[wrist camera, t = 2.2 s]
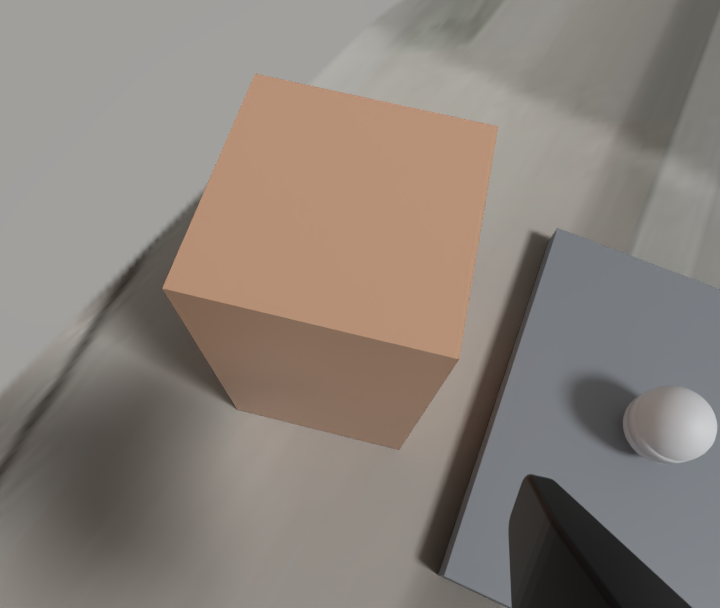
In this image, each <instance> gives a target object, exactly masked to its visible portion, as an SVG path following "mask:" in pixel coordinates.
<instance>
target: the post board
mask: <svg viewBox="0 0 720 608" xmlns="http://www.w3.org/2000/svg"><path fill="white" fill-rule="evenodd" d="M528 474H533V475H538V476H542V477H547V478H550V479H553V480H554V481H556V482H557V483H558V484H559V485H560V486H561V487H562V488H563V489H564V490H565V491H566V492H567V493H569V494H570V495H571V496H572V497H573V498H574V499H575V500H576V501H577V502H578V503H579V504H581V505H582V506H583V507H584V508H585V509H586V510H587V511H588V512H589V513H590V514H591V515H592V516H594V517H595V518H596V519H597V520H598V521H599V522H600V523H601V524H602V525H603V526H604V527H606V528H607V529H608V530H609V531H610V532H611V533H612V534H613V535H614V536H615V537H616V538H617V539H619V540H620V541H621V542H622V543H623V544H624V545H625V546H626V547H627V548H628V549H629V550H631V551H632V552H633V553H634V554H635V555H636V556H637V557H638V558H639V559H640V560H641V561H642V562H644V563H645V564H646V565H647V566H648V567H649V568H650V569H651V570H652V571H653V572H654V573H656V574H657V575H658V576H659V577H660V578H661V579H662V580H663V581H664V582H665V583H666V584H667V585H669V586H670V587H671V588H672V589H673V590H674V591H675V592H676V593H677V594H678V595H679V596H681V597H682V598H683V599H684V600H685V601H686V602H687V603H688V604H689V605H690V606H691V607H692V608H720V289H717V288H715V287H712V286H709V285H707V284H704V283H701V282H699V281H696V280H693V279H691V278H688V277H685V276H683V275H680V274H677V273H675V272H672V271H669V270H667V269H664V268H662V267H659V266H656V265H654V264H651V263H648V262H646V261H643V260H640V259H638V258H635V257H632V256H630V255H627V254H624V253H622V252H619V251H617V250H614V249H611V248H609V247H606V246H603V245H601V244H598V243H595V242H593V241H590V240H587V239H585V238H582V237H579V236H577V235H574V234H571V233H569V232H566V231H564V230H561V229H558V228H557V230H556V231H555V233H554V234H553V235H552V237H551V238H550V240H549V242H548V245H547V248H546V251H545V254H544V257H543V260H542V263H541V266H540V269H539V272H538V275H537V278H536V281H535V284H534V287H533V290H532V293H531V296H530V299H529V302H528V305H527V308H526V311H525V314H524V317H523V320H522V323H521V326H520V329H519V332H518V335H517V338H516V341H515V344H514V348H513V351H512V354H511V357H510V360H509V363H508V366H507V369H506V372H505V375H504V378H503V381H502V384H501V387H500V390H499V393H498V396H497V399H496V402H495V405H494V408H493V411H492V414H491V417H490V420H489V423H488V426H487V429H486V432H485V435H484V438H483V441H482V444H481V447H480V450H479V453H478V456H477V459H476V462H475V465H474V468H473V471H472V475H471V478H470V481H469V484H468V487H467V490H466V493H465V496H464V499H463V502H462V505H461V508H460V511H459V514H458V517H457V520H456V523H455V526H454V529H453V532H452V535H451V538H450V541H449V544H448V547H447V550H446V553H445V556H444V559H443V562H442V565H441V568H440V571H439V574H438V575H439V576H441V577H443V578H446V579H448V580H450V581H452V582H454V583H456V584H458V585H461V586H463V587H465V588H467V589H469V590H471V591H473V592H475V593H478V594H480V595H482V596H484V597H486V598H488V599H490V600H493V601H495V602H497V603H499V604H501V605H503V606H505V607H507V608H512V605H511V582H510V559H509V537H508V526H509V519H510V515H511V512H512V509H513V506H514V503H515V500H516V497H517V495H518V492H519V489H520V486H521V483H522V481H523V479H524V477H525V476H526V475H528Z"/></svg>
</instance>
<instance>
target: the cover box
mask: <svg viewBox="0 0 720 608" xmlns="http://www.w3.org/2000/svg"><path fill="white" fill-rule="evenodd" d="M497 131H498V126H494V125H489V124H484V123H480V122H475V121H471V120H466V119H461V118H457V117H452V116H448V115H443V114H438V113H434V112H429V111H425V110H420V109H415V108H411V107H406V106H402V105H397V104H392V103H388V102H383V101H378V100H374V99H369V98H365V97H360V96H355V95H351V94H346V93H342V92H337V91H332V90H328V89H323V88H319V87H314V86H309V85H305V84H300V83H296V82H291V81H286V80H282V79H277V78H273V77H268V76H263V75H258V74H255V75H254V78H253V80H252V82H251V85H250V87H249V89H248V91H247V94H246V96H245V98H244V101H243V103H242V105H241V108H240V110H239V112H238V115H237V117H236V119H235V121H234V124H233V126H232V128H231V131H230V133H229V135H228V138H227V140H226V142H225V145H224V147H223V149H222V151H221V154H220V156H219V159H218V161H217V163H216V165H215V168H214V170H213V172H212V175H211V177H210V179H209V181H208V184H207V186H206V188H205V191H204V193H203V195H202V198H201V200H200V202H199V205H198V207H197V209H196V211H195V214H194V216H193V218H192V221H191V223H190V225H189V228H188V230H187V232H186V235H185V237H184V239H183V241H182V244H181V246H180V248H179V251H178V253H177V255H176V258H175V260H174V262H173V265H172V267H171V269H170V271H169V274H168V276H167V278H166V281H165V283H164V285H163V288H162V289H163V290H164V292H165V294H166V295H167V297H168V299H169V300H170V302H171V303H172V305H173V307H174V308H175V310H176V311H177V313H178V315H179V316H180V318H181V320H182V321H183V323H184V324H185V326H186V328H187V329H188V331H189V332H190V334H191V336H192V337H193V339H194V340H195V342H196V344H197V345H198V347H199V349H200V350H201V352H202V353H203V355H204V357H205V358H206V360H207V361H208V363H209V365H210V366H211V368H212V369H213V371H214V373H215V374H216V376H217V378H218V379H219V381H220V382H221V384H222V386H223V387H224V389H225V390H226V392H227V394H228V395H229V397H230V398H231V400H232V402H233V403H234V405H235V407H236V408H237V410H241V411H245V412H249V413H253V414H257V415H261V416H265V417H269V418H273V419H277V420H281V421H285V422H289V423H293V424H297V425H301V426H305V427H309V428H313V429H317V430H321V431H325V432H329V433H333V434H337V435H341V436H345V437H349V438H353V439H357V440H361V441H365V442H369V443H373V444H377V445H381V446H385V447H389V448H394V449H398V450H399V449H400V448H401V446H402V445H403V443H404V442H405V440H406V439H407V437H408V436H409V434H410V433H411V431H412V430H413V428H414V427H415V425H416V424H417V422H418V421H419V419H420V418H421V416H422V415H423V413H424V411H425V410H426V408H427V407H428V405H429V404H430V402H431V401H432V399H433V398H434V396H435V395H436V393H437V392H438V390H439V389H440V387H441V386H442V384H443V383H444V381H445V380H446V378H447V377H448V375H449V374H450V372H451V371H452V369H453V368H454V366H455V365H456V363H457V362H458V360H459V356H460V350H461V344H462V338H463V333H464V327H465V321H466V315H467V309H468V303H469V297H470V291H471V285H472V279H473V273H474V267H475V261H476V255H477V249H478V243H479V238H480V232H481V226H482V220H483V214H484V208H485V202H486V196H487V190H488V184H489V178H490V172H491V166H492V160H493V154H494V148H495V143H496V137H497Z"/></svg>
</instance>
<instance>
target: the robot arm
mask: <svg viewBox="0 0 720 608" xmlns="http://www.w3.org/2000/svg"><path fill="white" fill-rule="evenodd" d="M508 537H509V559H510V582H511V605H512V608H692V607H691V606H690V605H689V604H688V603H687V602H686V601H685V600H684V599H683V598H682V597H681V596H679V595H678V594H677V593H676V592H675V591H674V590H673V589H672V588H671V587H670V586H669V585H667V584H666V583H665V582H664V581H663V580H662V579H661V578H660V577H659V576H658V575H657V574H656V573H654V572H653V571H652V570H651V569H650V568H649V567H648V566H647V565H646V564H645V563H644V562H642V561H641V560H640V559H639V558H638V557H637V556H636V555H635V554H634V553H633V552H632V551H631V550H629V549H628V548H627V547H626V546H625V545H624V544H623V543H622V542H621V541H620V540H619V539H617V538H616V537H615V536H614V535H613V534H612V533H611V532H610V531H609V530H608V529H607V528H606V527H604V526H603V525H602V524H601V523H600V522H599V521H598V520H597V519H596V518H595V517H594V516H592V515H591V514H590V513H589V512H588V511H587V510H586V509H585V508H584V507H583V506H582V505H581V504H579V503H578V502H577V501H576V500H575V499H574V498H573V497H572V496H571V495H570V494H569V493H567V492H566V491H565V490H564V489H563V488H562V487H561V486H560V485H559V484H558V483H557V482H556V481H554V480H553V479H550V478H547V477H542V476H538V475H533V474H528V475H526V476H525V477H524V479H523V481H522V483H521V486H520V489H519V492H518V495H517V497H516V500H515V503H514V506H513V509H512V512H511V515H510V519H509V526H508Z"/></svg>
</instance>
